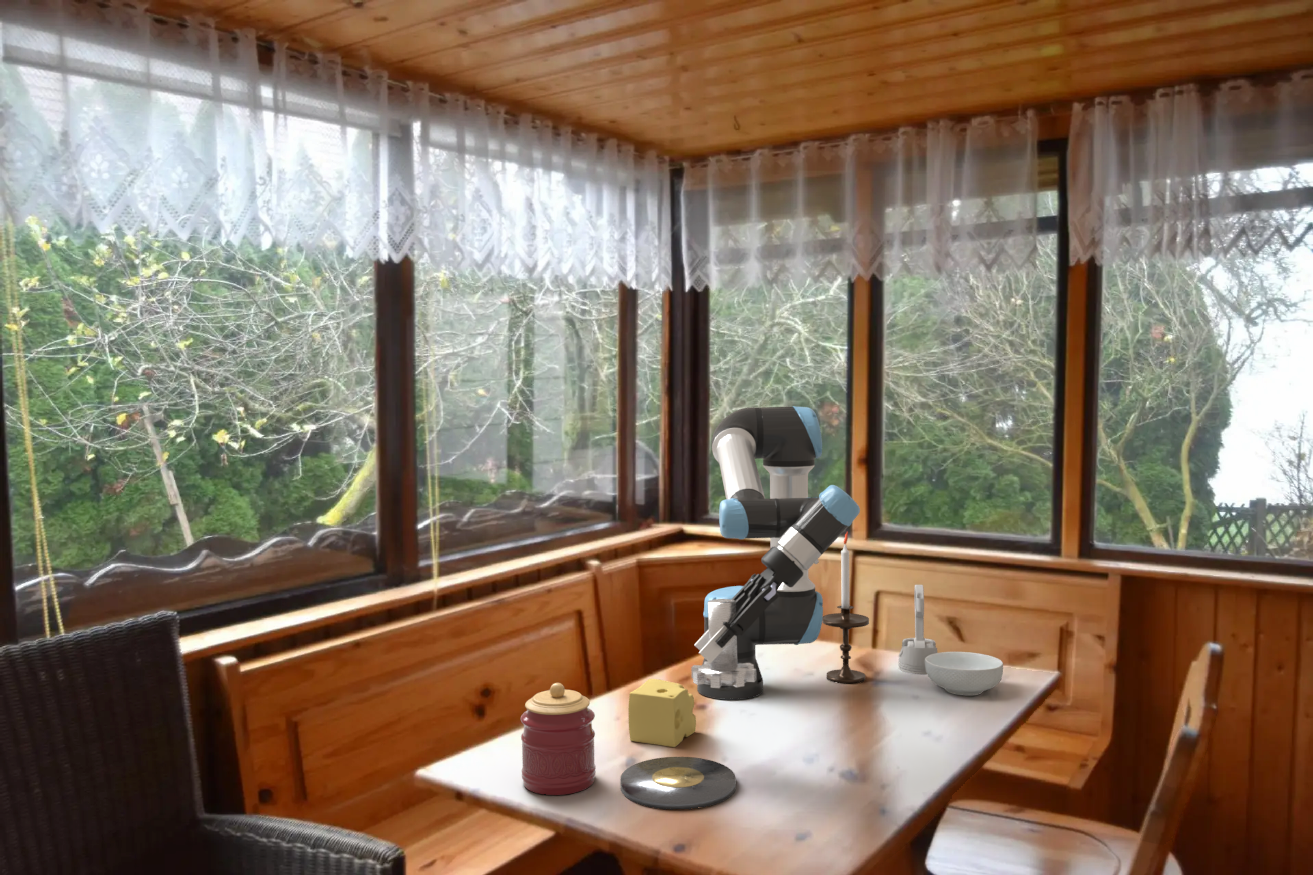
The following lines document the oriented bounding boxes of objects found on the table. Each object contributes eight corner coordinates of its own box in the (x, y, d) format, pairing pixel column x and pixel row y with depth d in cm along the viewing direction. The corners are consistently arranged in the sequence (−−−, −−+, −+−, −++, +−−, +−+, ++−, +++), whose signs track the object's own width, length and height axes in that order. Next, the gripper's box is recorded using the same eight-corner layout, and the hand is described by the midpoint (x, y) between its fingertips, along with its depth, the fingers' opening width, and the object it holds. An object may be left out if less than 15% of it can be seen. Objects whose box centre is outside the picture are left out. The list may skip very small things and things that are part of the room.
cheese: (696, 732, 202) (695, 682, 201) (674, 749, 192) (674, 698, 192) (649, 725, 206) (649, 677, 206) (626, 742, 196) (625, 691, 196)
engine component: (899, 673, 241) (942, 675, 239) (898, 589, 240) (942, 590, 238) (897, 661, 252) (938, 663, 250) (897, 580, 251) (938, 581, 249)
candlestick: (851, 669, 245) (850, 527, 243) (878, 681, 235) (878, 532, 233) (813, 675, 241) (812, 530, 239) (839, 687, 231) (838, 536, 229)
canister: (528, 768, 183) (526, 672, 182) (599, 768, 183) (597, 672, 182) (516, 796, 170) (514, 694, 169) (592, 796, 170) (590, 694, 169)
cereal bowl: (1011, 686, 229) (1011, 656, 229) (992, 706, 215) (992, 673, 215) (937, 676, 239) (937, 646, 238) (915, 694, 225) (915, 663, 224)
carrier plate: (603, 775, 179) (603, 767, 179) (703, 757, 187) (702, 749, 187) (649, 818, 161) (648, 808, 161) (757, 796, 169) (757, 786, 169)
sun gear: (680, 676, 183) (678, 599, 182) (735, 667, 188) (733, 593, 187) (711, 691, 172) (709, 610, 172) (768, 681, 177) (766, 603, 177)
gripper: (817, 580, 172) (725, 681, 171) (792, 564, 190) (709, 655, 189) (786, 551, 171) (694, 652, 170) (764, 538, 189) (680, 629, 188)
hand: (702, 653), depth 179 cm, fingers closed on sun gear, 5 cm apart
